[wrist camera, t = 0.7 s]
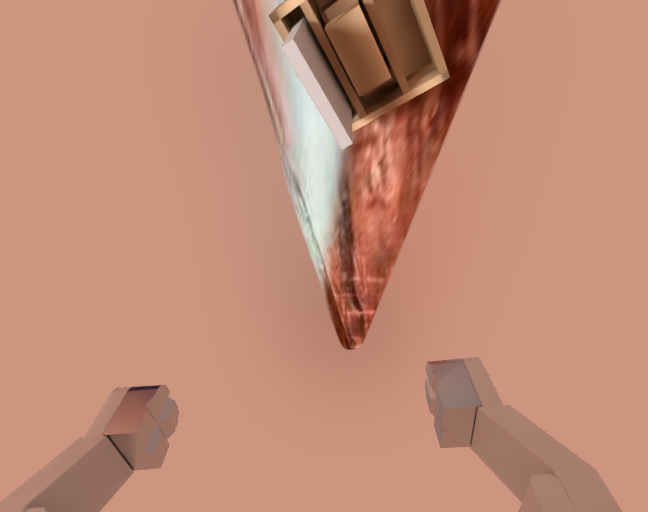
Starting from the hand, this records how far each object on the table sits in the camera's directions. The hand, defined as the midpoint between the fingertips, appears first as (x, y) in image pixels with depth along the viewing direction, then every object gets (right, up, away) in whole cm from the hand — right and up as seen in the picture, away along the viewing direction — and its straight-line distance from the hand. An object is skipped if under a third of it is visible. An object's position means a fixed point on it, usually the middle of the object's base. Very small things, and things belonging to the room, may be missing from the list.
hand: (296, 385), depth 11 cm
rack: (+6, +29, +28) cm, 41 cm away
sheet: (+1, +26, +30) cm, 40 cm away
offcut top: (+4, +25, +25) cm, 36 cm away
